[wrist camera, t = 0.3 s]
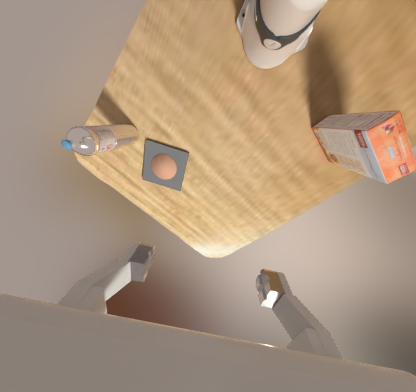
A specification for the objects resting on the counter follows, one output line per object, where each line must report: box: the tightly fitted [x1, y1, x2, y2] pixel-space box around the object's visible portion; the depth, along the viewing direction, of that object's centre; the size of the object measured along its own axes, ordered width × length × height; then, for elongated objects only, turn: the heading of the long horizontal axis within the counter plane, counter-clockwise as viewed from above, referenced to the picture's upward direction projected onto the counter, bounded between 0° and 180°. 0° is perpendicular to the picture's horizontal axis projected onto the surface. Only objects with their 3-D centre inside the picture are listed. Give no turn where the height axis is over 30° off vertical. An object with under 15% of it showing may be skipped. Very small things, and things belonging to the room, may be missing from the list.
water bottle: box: [61, 124, 139, 156], centre depth 43 cm, size 7×7×25 cm
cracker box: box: [312, 111, 416, 184], centre depth 39 cm, size 14×6×21 cm, turn 40°
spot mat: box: [143, 139, 189, 191], centre depth 58 cm, size 16×16×1 cm
